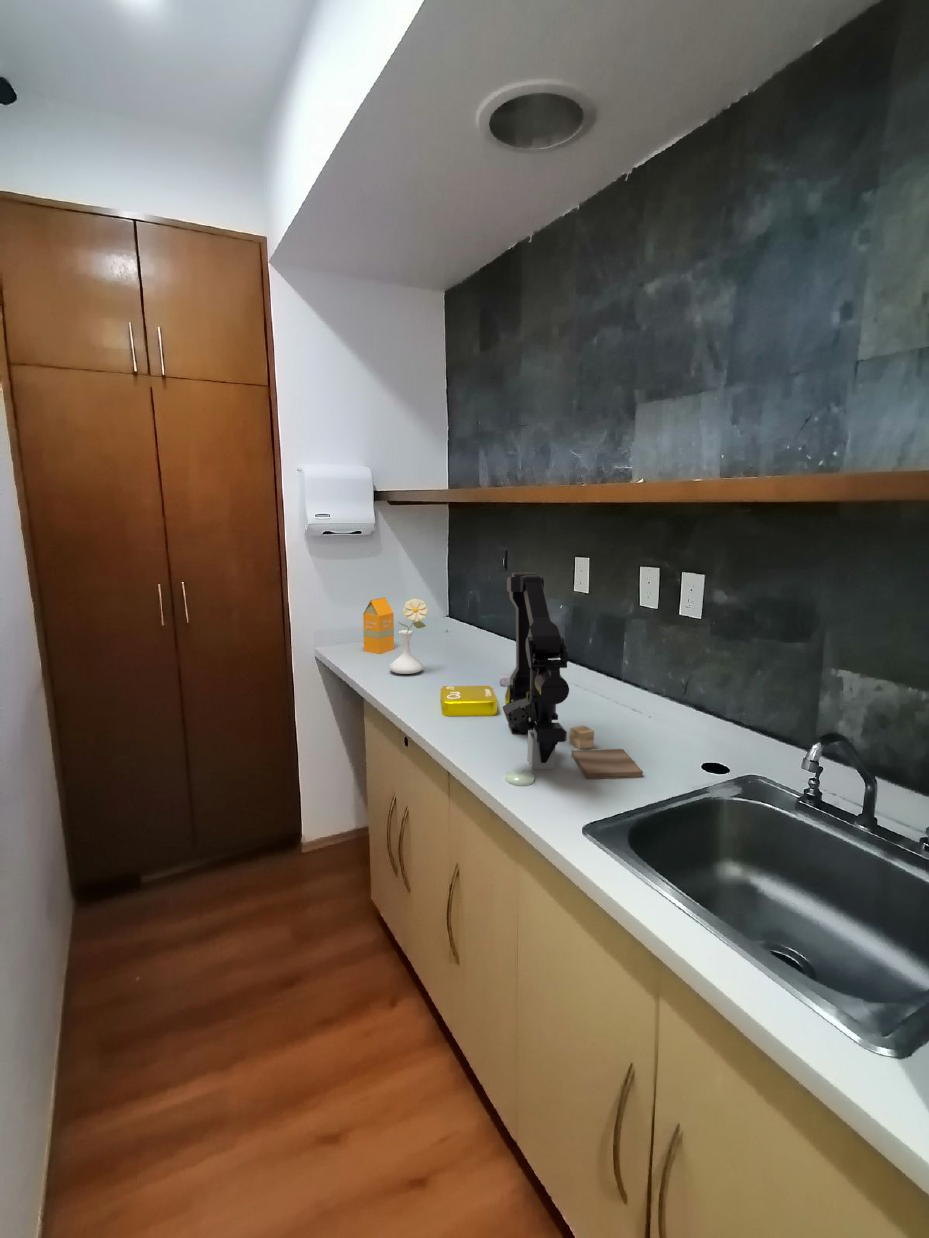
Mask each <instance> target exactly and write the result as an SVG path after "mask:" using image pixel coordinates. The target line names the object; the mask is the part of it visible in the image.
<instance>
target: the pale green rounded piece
mask: <svg viewBox="0 0 929 1238" xmlns="http://www.w3.org/2000/svg"><path fill="white" fill-rule="evenodd" d="M504 776H505V777H504V780H505V782H506V783H508V784H510V785H512V786H518V787H519V786H520V787H525V786H526V787H527V786H529V785H532V784H533V783H534V782H535V775H534V774H533V773H532V772H530V771H527V770H521V769H520V770H519V769H516V770H514V769H513V770H511V771H508V772H506V773H505V775H504Z"/></svg>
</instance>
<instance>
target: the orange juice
mask: <svg viewBox="0 0 929 1238" xmlns="http://www.w3.org/2000/svg"><path fill="white" fill-rule="evenodd" d="M362 617H363V618H362V621H363V625H362V626H363V630H362V631H363V652H365V653H371V654H375V655H381V654H384V653H388V652H390V651H394V650H395V638H394V637H395V627H394V624H395V623H394V621H395V619H394V611H393V609H392V608H391V606H390V604H389V603H388V600H387V598H386V597H384V596H383V597H381V598H380V597H379V598H375V599H371V600H370V601H369V603H368V605H367V606H366V608H365V610H364V612H363V615H362Z"/></svg>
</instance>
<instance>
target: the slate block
mask: <svg viewBox="0 0 929 1238" xmlns="http://www.w3.org/2000/svg"><path fill="white" fill-rule="evenodd" d="M532 733H533V730H528V733H527V758H526V759H527V762H528V765H529V766H530V769H531V770H554V769H555V768H556V764H555V763H556V747H555V748H554V750H553V751H552V753H551V755H550V757H549V759H548V761H547V762H546V763H541V759H540V752H539V745H538V742H537V741H536V740H535V739H534V738H533V736H532Z"/></svg>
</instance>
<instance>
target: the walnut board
mask: <svg viewBox="0 0 929 1238" xmlns="http://www.w3.org/2000/svg"><path fill="white" fill-rule="evenodd" d="M571 757H572V758H573V760H574V762H575V763H576V765H577V766H578V768H579V769H580V771H581V772H582V774H583V775H584V777H585V778H586V779H587V780H589V779H590V780H593V779H617V778H619V779H621V778H624V779H625V778H642V777H643V774H644V771H643V770H642V769H641V767H640V766H639V765H638V764H637V763H636V762H635V761H634V760H633V759H632V757H631V756H630V755H629V754H628V753H627V752H626V751H625V749H624V748H620V749H619V748H613V749H611V748H609V749H608V748H607V749H576V750H571Z"/></svg>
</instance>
